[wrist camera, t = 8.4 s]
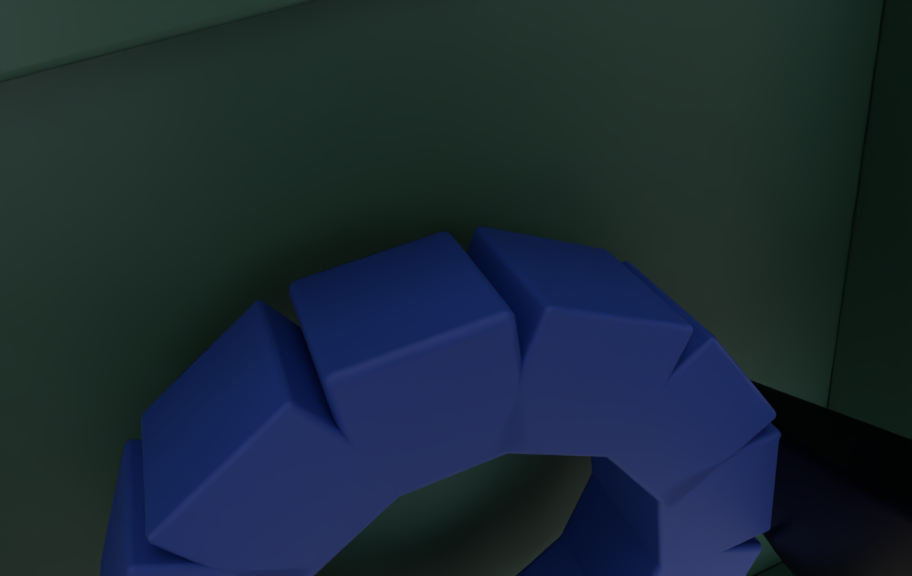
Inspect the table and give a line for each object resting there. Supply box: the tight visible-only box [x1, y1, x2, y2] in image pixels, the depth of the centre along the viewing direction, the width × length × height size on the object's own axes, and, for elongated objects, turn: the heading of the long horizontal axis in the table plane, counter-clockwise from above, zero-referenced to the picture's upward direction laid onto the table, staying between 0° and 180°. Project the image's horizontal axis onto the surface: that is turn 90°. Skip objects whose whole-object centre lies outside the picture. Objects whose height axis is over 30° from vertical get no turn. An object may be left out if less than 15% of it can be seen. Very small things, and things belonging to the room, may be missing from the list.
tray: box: [0, 0, 912, 576], centre depth 9 cm, size 14×13×2 cm
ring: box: [100, 226, 781, 576], centre depth 9 cm, size 7×7×2 cm
